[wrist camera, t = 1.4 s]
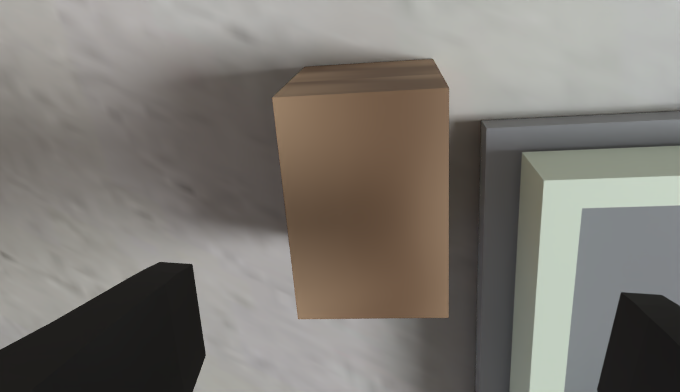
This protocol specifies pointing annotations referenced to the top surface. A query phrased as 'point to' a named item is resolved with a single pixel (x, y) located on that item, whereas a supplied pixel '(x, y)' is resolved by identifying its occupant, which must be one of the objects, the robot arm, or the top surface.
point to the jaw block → (367, 189)
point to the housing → (570, 242)
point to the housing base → (594, 240)
